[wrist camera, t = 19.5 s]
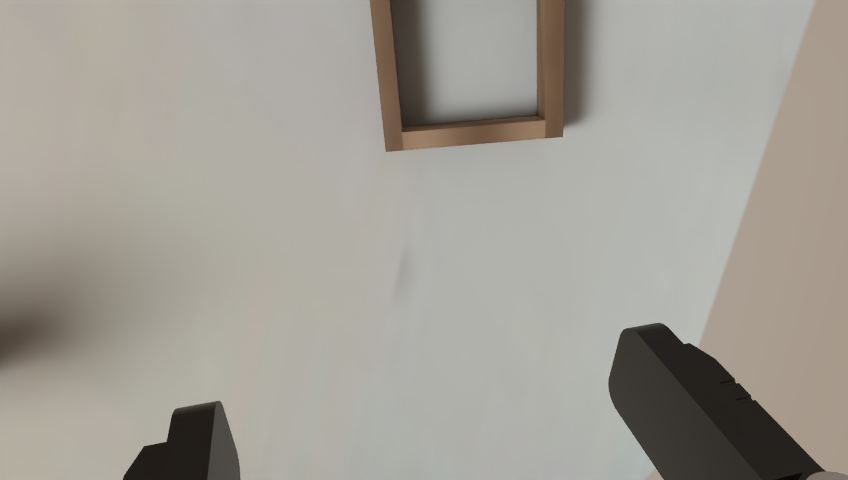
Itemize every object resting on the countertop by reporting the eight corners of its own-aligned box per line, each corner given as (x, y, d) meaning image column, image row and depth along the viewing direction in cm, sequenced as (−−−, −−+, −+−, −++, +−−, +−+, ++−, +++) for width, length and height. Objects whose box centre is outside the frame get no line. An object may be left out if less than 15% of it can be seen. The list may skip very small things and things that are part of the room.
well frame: (387, 145, 32) (385, 151, 30) (367, -43, 28) (364, -48, 26) (553, 131, 32) (563, 136, 30) (555, -59, 28) (565, -65, 26)
